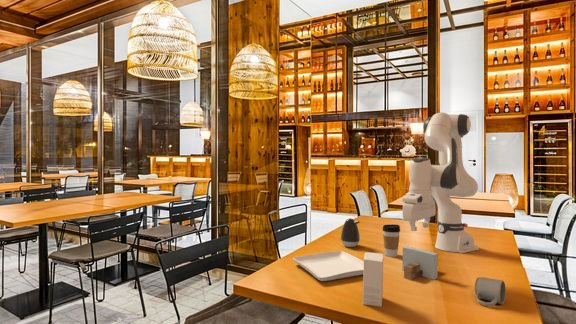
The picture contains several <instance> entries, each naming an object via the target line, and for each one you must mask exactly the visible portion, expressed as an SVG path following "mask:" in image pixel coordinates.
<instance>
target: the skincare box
mask: <svg viewBox="0 0 576 324" xmlns="http://www.w3.org/2000/svg"><path fill="white" fill-rule="evenodd" d="M363 261H364V269H363V277H362V305H365V306H371V307H372V306H373V307H380V308H381V307H383V292H384V291H383V290H384V254H383V253H378V252H368V251H367V252H364V256H363Z"/></svg>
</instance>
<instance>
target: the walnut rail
mask: <svg viewBox="0 0 576 324" xmlns="http://www.w3.org/2000/svg"><path fill="white" fill-rule="evenodd" d="M421 276H423V270H420V264H417V263H414V262H413V263H410V264H408V265H405V266H404V271H403V278H404V279H406V280H409V281H412V280H414V279H417V278H419V277H421Z"/></svg>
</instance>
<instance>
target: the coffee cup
mask: <svg viewBox="0 0 576 324" xmlns="http://www.w3.org/2000/svg"><path fill="white" fill-rule="evenodd" d="M400 226H401V225H399V224H383V226H382V231H383V249H384V255H385V256H386V257H391V258H394V257H398V253H399V251H398V250H399V245H400V244H399V243H400V232H401V228H400Z"/></svg>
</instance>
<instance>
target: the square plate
mask: <svg viewBox="0 0 576 324" xmlns="http://www.w3.org/2000/svg"><path fill="white" fill-rule="evenodd" d="M292 260H293V261H294V262H295V263H296V264H297V265H298V266H300V267H301V268H303V269H304V270H306V271H307V272H308V273H309V274H311V275H312V276H313V277H314V278H316V279H317V280H319V281H321V282H327V281H334V280H339V279H345V278H351V277H357V276H362V275H363V269H364V260H362V259H360V258H358V257H356V256H354V255H353V254H350V253H348V252H345V251H343V250H336V251H326V252H325V251H324V252H318V253H312V254H311V253H310V254H305V255H304V254H303V255H298V256H294V257H292Z"/></svg>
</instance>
